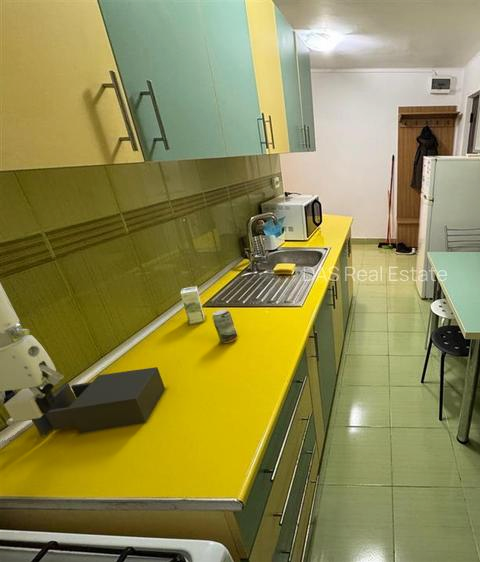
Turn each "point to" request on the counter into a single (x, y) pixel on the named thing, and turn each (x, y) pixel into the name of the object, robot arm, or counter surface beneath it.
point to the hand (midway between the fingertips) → (34, 409)
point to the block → (23, 406)
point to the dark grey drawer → (58, 410)
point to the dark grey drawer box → (117, 400)
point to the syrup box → (192, 305)
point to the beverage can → (224, 325)
